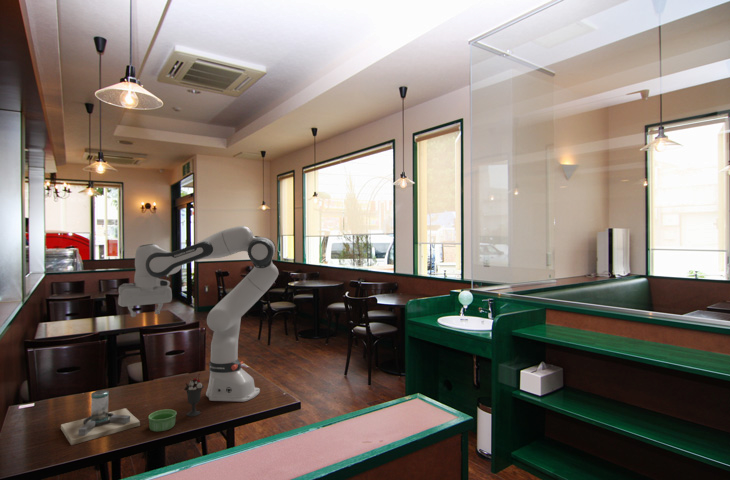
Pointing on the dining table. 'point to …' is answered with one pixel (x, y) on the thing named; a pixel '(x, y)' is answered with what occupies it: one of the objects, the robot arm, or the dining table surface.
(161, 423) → the ramekin
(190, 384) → the sundae
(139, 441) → the dining table surface
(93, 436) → the board
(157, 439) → the dining table surface
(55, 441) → the dining table surface
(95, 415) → the teal-capped glass jar
